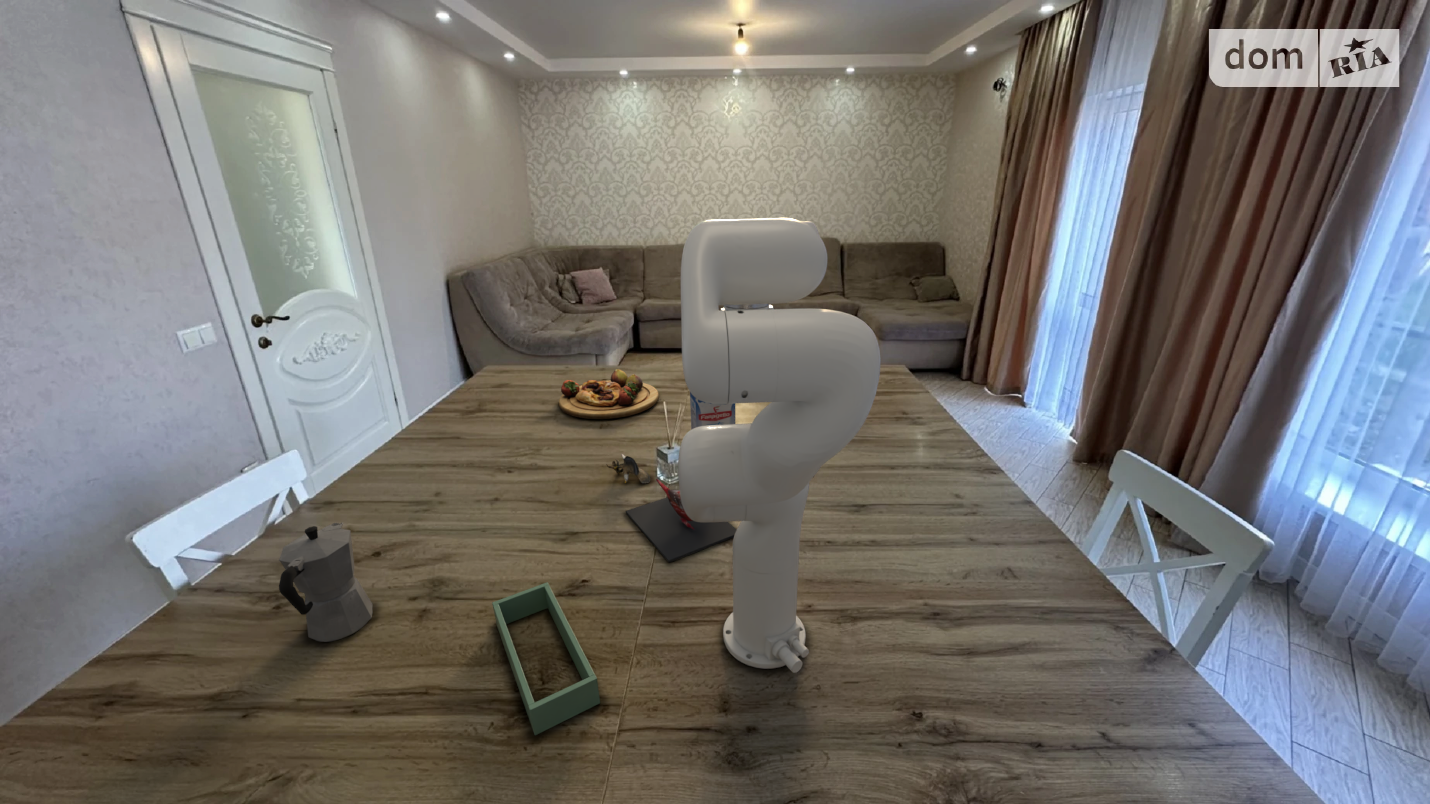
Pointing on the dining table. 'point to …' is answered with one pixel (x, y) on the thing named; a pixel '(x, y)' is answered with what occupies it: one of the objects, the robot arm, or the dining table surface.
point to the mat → (677, 530)
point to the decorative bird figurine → (676, 503)
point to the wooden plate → (607, 397)
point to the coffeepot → (325, 583)
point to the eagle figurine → (630, 469)
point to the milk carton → (710, 413)
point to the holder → (586, 690)
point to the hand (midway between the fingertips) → (746, 395)
